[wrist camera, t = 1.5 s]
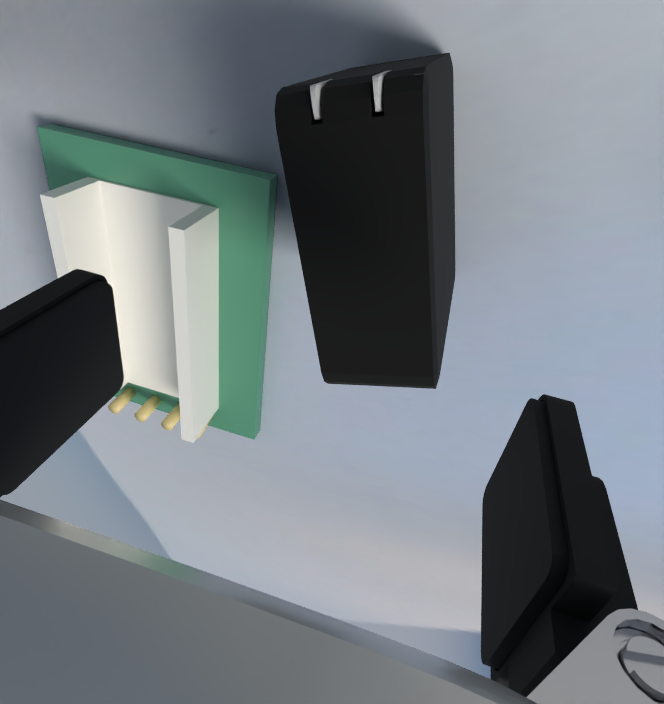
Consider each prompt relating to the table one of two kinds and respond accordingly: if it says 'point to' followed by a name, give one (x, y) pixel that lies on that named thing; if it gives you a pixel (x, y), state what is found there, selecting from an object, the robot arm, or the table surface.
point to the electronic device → (374, 215)
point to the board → (170, 270)
